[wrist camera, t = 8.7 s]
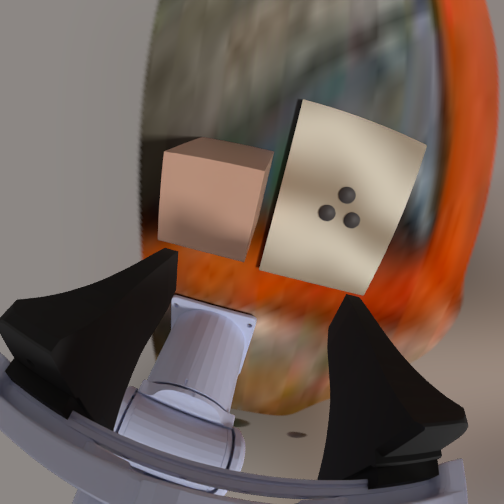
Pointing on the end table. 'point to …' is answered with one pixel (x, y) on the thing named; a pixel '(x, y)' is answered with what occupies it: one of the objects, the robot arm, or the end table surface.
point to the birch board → (339, 198)
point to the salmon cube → (212, 195)
